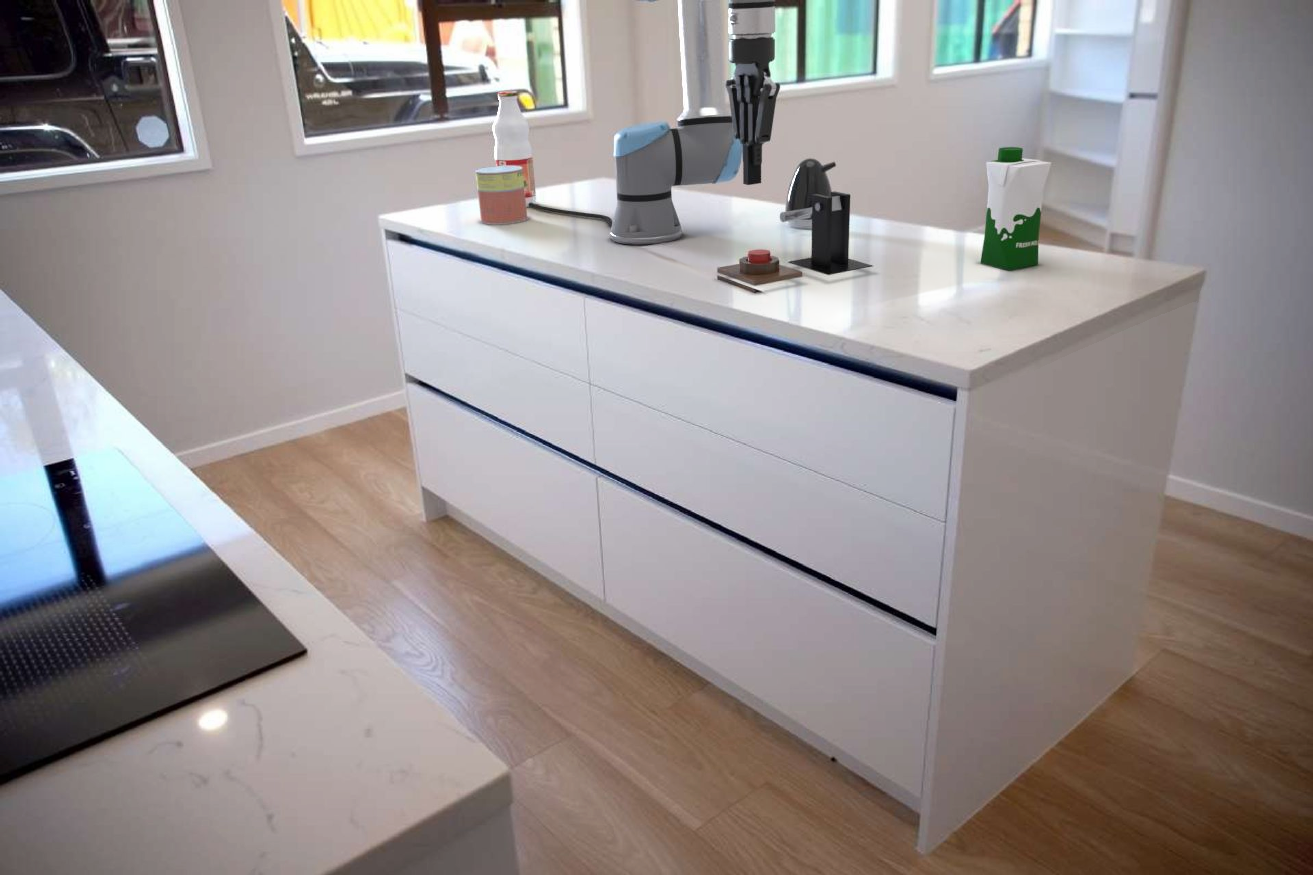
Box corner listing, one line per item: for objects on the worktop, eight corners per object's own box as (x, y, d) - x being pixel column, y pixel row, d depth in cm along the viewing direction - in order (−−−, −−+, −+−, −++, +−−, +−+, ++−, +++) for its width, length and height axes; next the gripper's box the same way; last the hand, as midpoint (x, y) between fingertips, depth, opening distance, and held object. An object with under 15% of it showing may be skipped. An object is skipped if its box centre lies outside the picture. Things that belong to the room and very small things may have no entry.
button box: (717, 279, 179) (716, 257, 177) (763, 271, 183) (763, 249, 182) (754, 293, 169) (754, 270, 168) (802, 284, 173) (802, 261, 172)
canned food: (536, 219, 239) (531, 168, 234) (493, 226, 233) (487, 174, 229) (514, 213, 248) (509, 164, 243) (473, 220, 242) (467, 169, 237)
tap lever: (780, 224, 185) (778, 211, 185) (806, 220, 188) (804, 207, 188) (823, 212, 173) (821, 198, 173) (850, 208, 176) (848, 194, 176)
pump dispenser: (833, 236, 207) (835, 161, 201) (783, 236, 209) (783, 162, 203) (835, 226, 216) (837, 154, 210) (787, 226, 218) (787, 155, 212)
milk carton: (1008, 256, 185) (1019, 145, 177) (1046, 265, 178) (1059, 149, 170) (972, 263, 181) (981, 150, 174) (1010, 272, 174) (1021, 155, 166)
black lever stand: (787, 269, 183) (788, 193, 178) (830, 261, 188) (832, 187, 182) (827, 282, 174) (829, 202, 168) (872, 273, 178) (876, 195, 172)
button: (743, 261, 176) (743, 251, 175) (762, 258, 177) (762, 248, 177) (756, 265, 172) (755, 255, 172) (775, 262, 174) (775, 252, 173)
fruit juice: (544, 203, 258) (534, 90, 247) (518, 210, 252) (506, 93, 241) (519, 201, 264) (508, 89, 253) (492, 207, 257) (480, 93, 246)
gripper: (711, 37, 166) (713, 181, 175) (755, 39, 155) (755, 191, 165) (748, 34, 169) (749, 176, 179) (794, 35, 158) (792, 186, 168)
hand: (752, 183), depth 172 cm, fingers closed
